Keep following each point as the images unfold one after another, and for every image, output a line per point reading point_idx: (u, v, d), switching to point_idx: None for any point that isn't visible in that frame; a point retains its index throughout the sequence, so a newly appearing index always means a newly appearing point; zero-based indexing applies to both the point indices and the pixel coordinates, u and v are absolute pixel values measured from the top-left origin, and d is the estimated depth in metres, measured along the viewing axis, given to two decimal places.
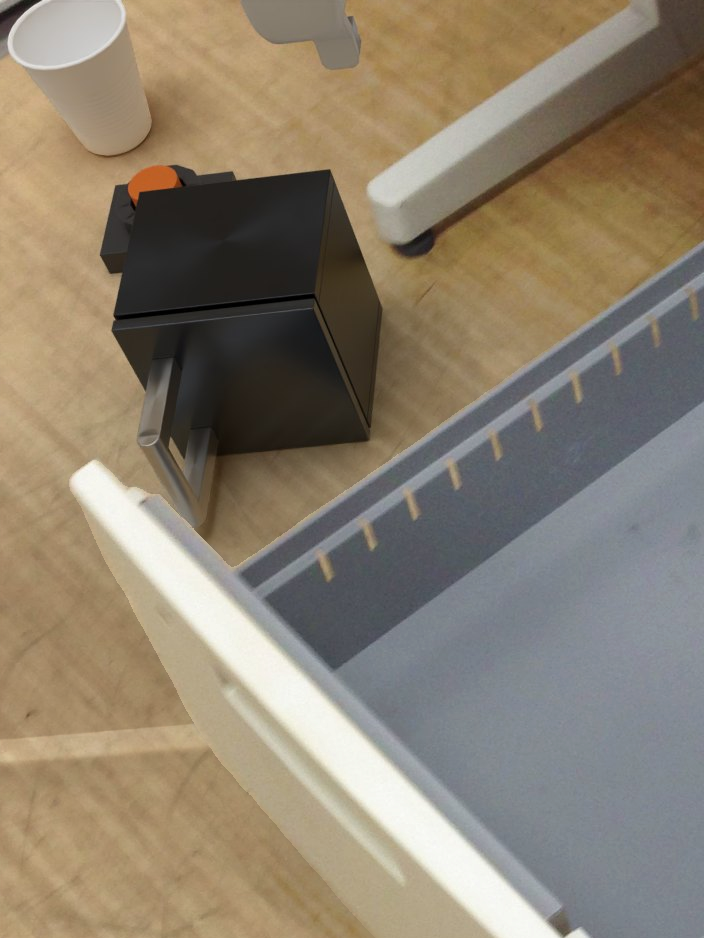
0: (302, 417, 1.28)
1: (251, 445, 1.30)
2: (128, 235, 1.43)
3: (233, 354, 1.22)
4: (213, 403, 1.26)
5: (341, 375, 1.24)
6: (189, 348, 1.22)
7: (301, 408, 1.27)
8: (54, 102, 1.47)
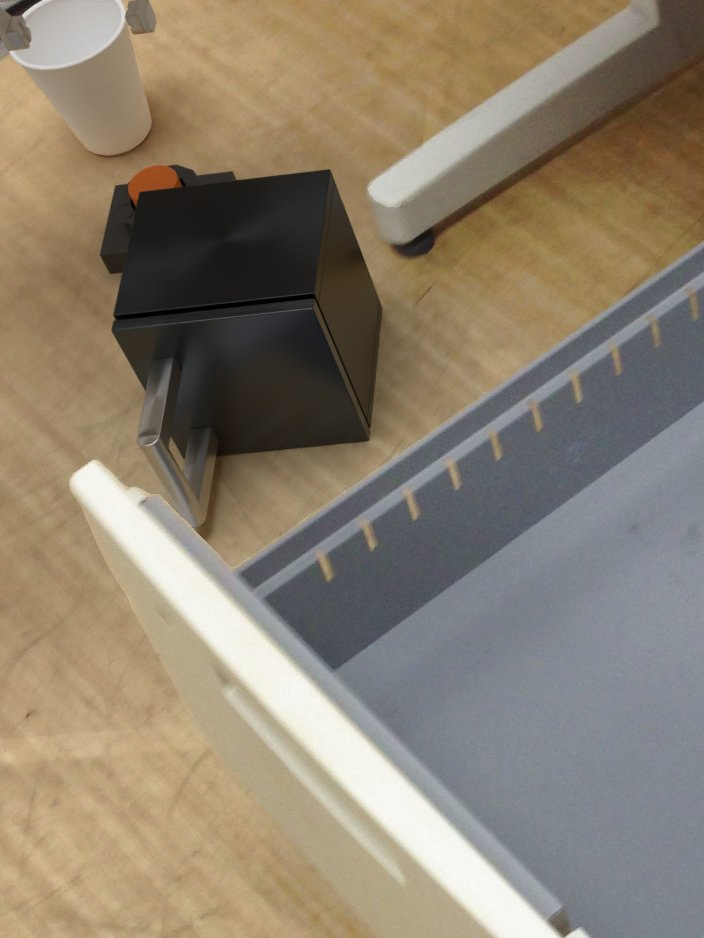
0: (302, 417, 1.28)
1: (251, 445, 1.30)
2: (128, 235, 1.43)
3: (233, 354, 1.22)
4: (213, 403, 1.26)
5: (341, 375, 1.24)
6: (189, 348, 1.22)
7: (301, 408, 1.27)
8: (54, 102, 1.47)
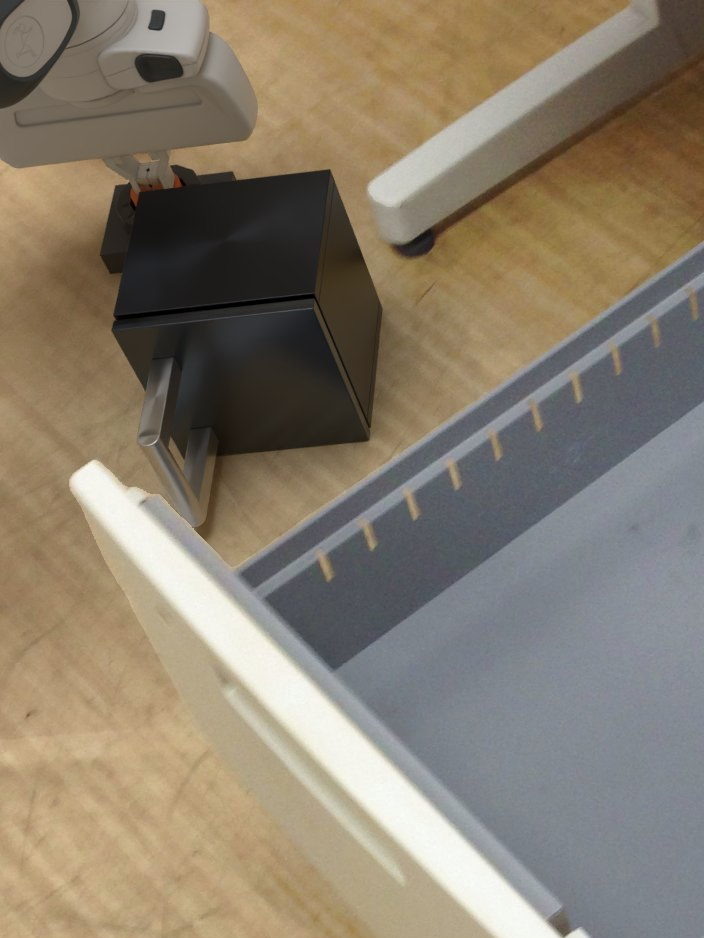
0: (302, 417, 1.28)
1: (251, 445, 1.30)
2: (128, 235, 1.43)
3: (233, 354, 1.22)
4: (213, 403, 1.26)
5: (341, 375, 1.24)
6: (189, 348, 1.22)
7: (301, 408, 1.27)
8: None
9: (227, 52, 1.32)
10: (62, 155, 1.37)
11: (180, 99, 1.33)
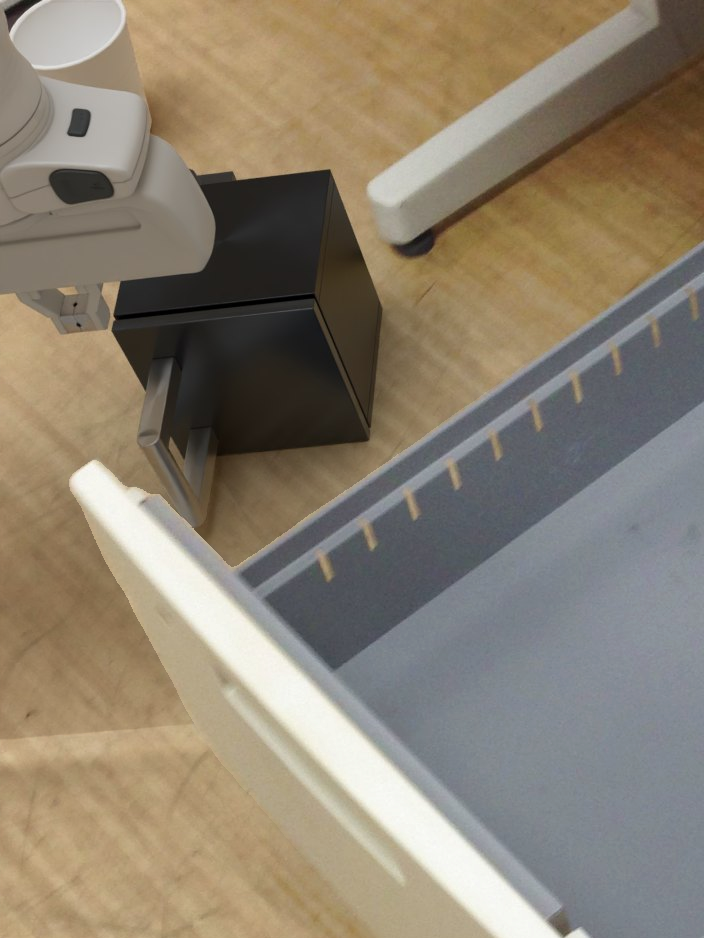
0: (302, 417, 1.28)
1: (251, 445, 1.30)
2: None
3: (233, 354, 1.22)
4: (213, 403, 1.26)
5: (341, 375, 1.24)
6: (189, 348, 1.22)
7: (301, 408, 1.27)
8: None
9: (174, 161, 1.01)
10: None
11: (112, 222, 1.01)
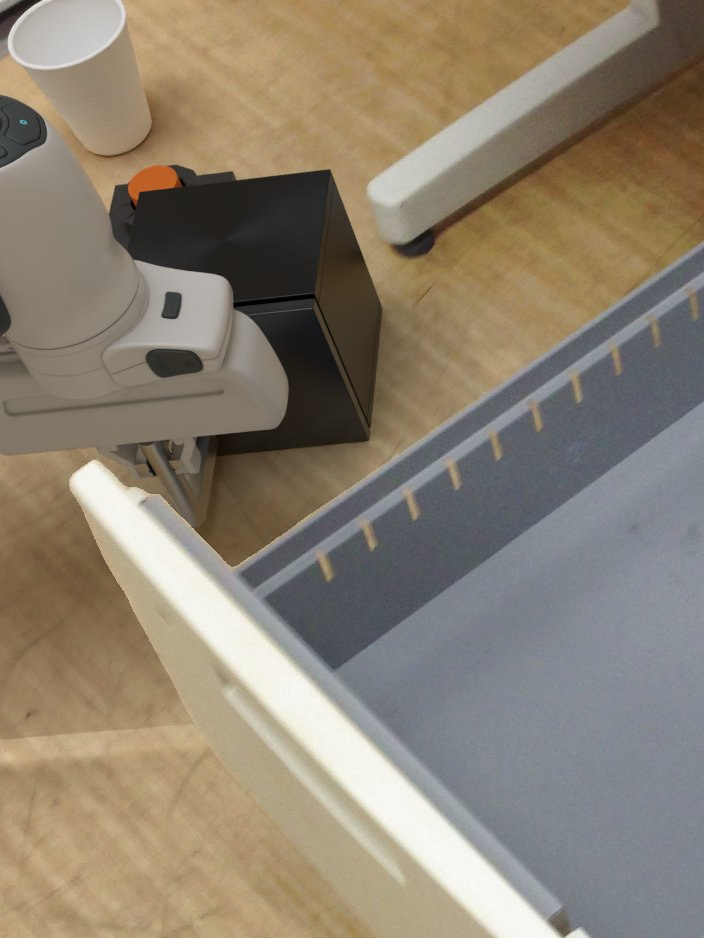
0: (302, 417, 1.28)
1: (251, 445, 1.30)
2: (128, 235, 1.43)
3: None
4: None
5: (341, 375, 1.24)
6: None
7: (301, 408, 1.27)
8: (54, 102, 1.47)
9: (254, 333, 1.13)
10: (60, 444, 1.17)
11: (198, 388, 1.13)
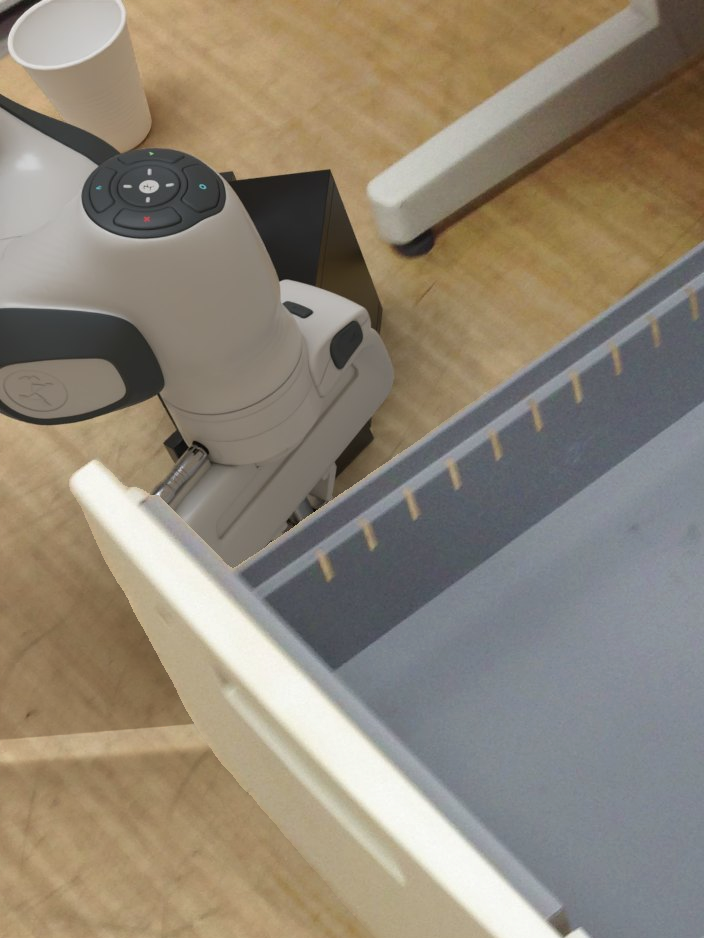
0: None
1: None
2: None
3: None
4: None
5: None
6: None
7: None
8: (54, 102, 1.47)
9: None
10: (259, 545, 1.10)
11: (339, 385, 1.11)
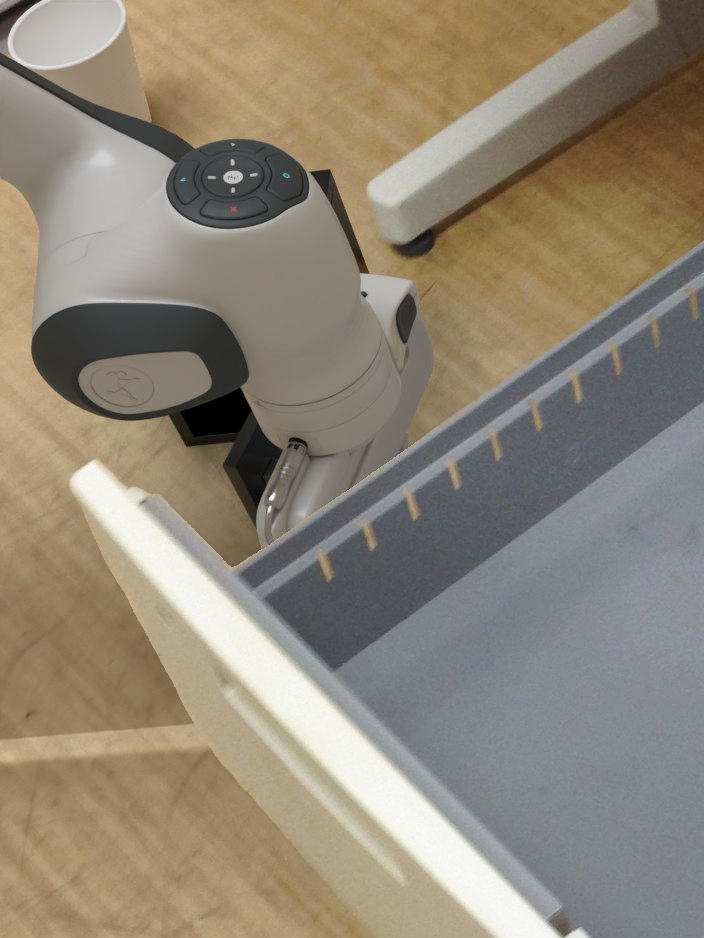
0: None
1: None
2: None
3: None
4: None
5: None
6: None
7: None
8: None
9: None
10: None
11: None
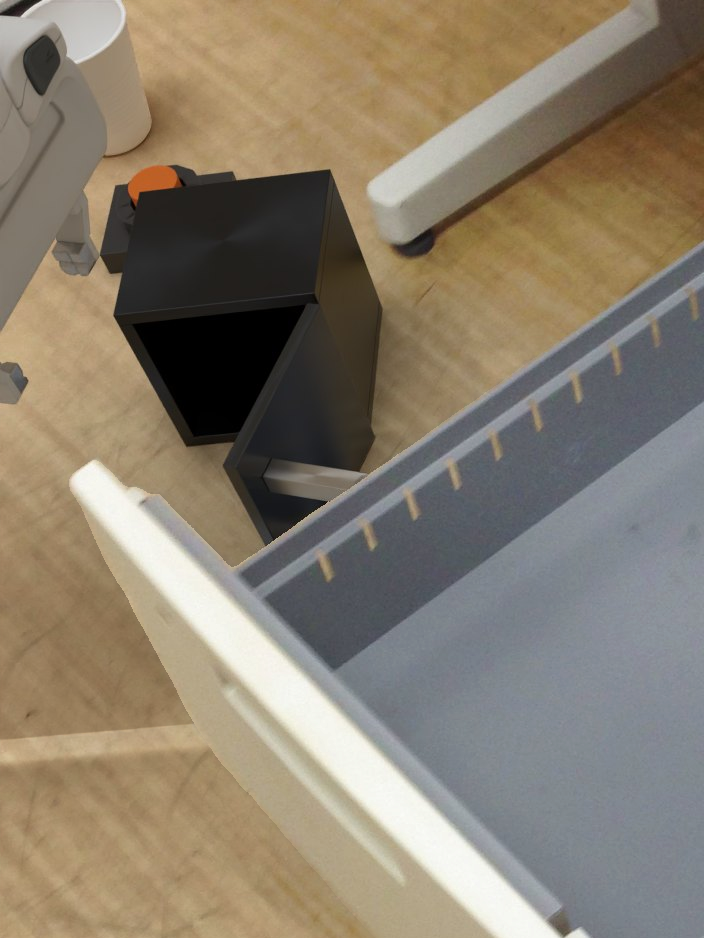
0: (342, 450, 1.25)
1: None
2: (128, 235, 1.43)
3: (297, 413, 1.18)
4: None
5: (347, 371, 1.24)
6: (276, 437, 1.16)
7: (340, 439, 1.25)
8: None
9: None
10: None
11: (45, 131, 0.94)
